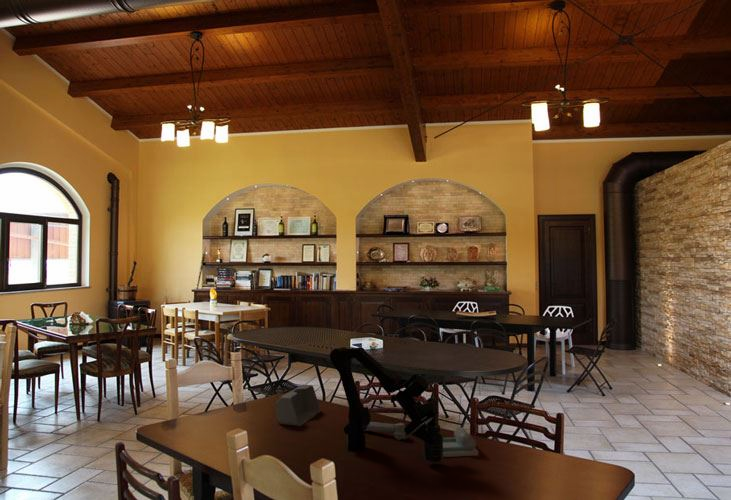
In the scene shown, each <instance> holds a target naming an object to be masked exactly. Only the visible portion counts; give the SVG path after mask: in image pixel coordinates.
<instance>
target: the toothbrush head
mask: <svg viewBox="0 0 731 500" xmlns="http://www.w3.org/2000/svg"><path fill="white" fill-rule="evenodd" d="M405 427H406V426H405V424H404V423H401V422H400V423H387V422H378V421H377V422H375V421H370V423H369V425H368V426H367V428H366V430H364V432H386V433H387V432H388V433H389V432H390V433H393V436H394V439H395V440H397V441H401V440H407V439H409V435H408V436H407V434H406V433H405V432H404V428H405Z"/></svg>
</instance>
